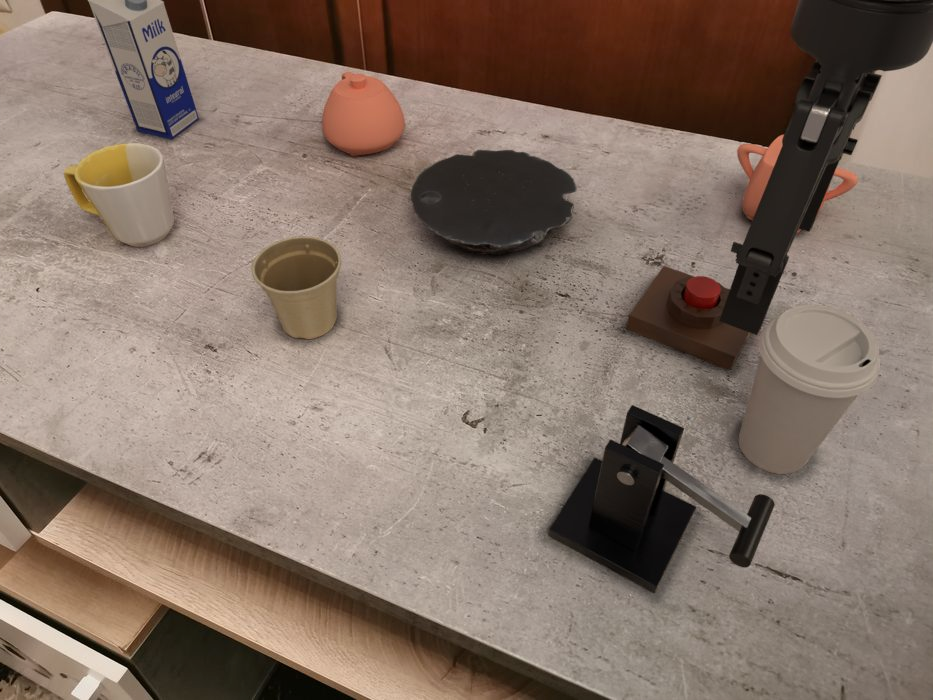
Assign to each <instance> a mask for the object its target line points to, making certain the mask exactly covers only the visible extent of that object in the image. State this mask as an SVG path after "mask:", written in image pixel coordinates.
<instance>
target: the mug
mask: <svg viewBox="0 0 933 700" xmlns="http://www.w3.org/2000/svg"><path fill="white" fill-rule="evenodd" d="M63 176H64V179H65V182H66V185H67V188H68V190H69V191H70V194H71V195H72V197H73V199H74V201H75V203H76V204H77V205H78V206H79V208H80V209H81V210H83V212H86V213H89V214H92V215H94V216H98V217H100V219H101V220H102V222H103V223H104V225H105V226H106V228H107V229H108V231H109V232H110V234H111V235H112V236H113V238H114V239H115V240H117V241H118V242H121V243H123V244H126V245H128V246H131V247H135V248H136V247H137V248H143V247H149V246H153V245H155V244H158V243H160V242H161V241H163V240H164V239H165V238H166V237H167V236H168V234H169V233H170V231H171V230H172V228H173V226H174V222H175V215H174V210H173V205H172V200H171V194H170V188H169V187H170V186H169V183H168V176H167V170H166V165H165V159H164V156H163V154H162V152H161V151H160V150H159V149H157V148H156V147H155V146H152V145H149V144H145V143H139V142H129V143H128V142H127V143H119V144H114V145H109V146H106V147H103V148H102V147H101V148H100V149H97V150H95V151H93V152H91V153H89V154H88V155H86V156H85V157H83V158H82V159H81V160H80V161H79V162H78V164H72V165H69V166H67V167H66V168H65V169H64V171H63Z"/></svg>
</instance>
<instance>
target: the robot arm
mask: <svg viewBox="0 0 933 700" xmlns="http://www.w3.org/2000/svg"><path fill="white" fill-rule="evenodd" d="M790 35H791V38H792V41H793V42H794V44H795V45H796V46H797V48H798V49H800V51H802V52H803V53H805V54H807V55H810V56H811V57H812V58H813V59H815V61H814V63H813V64H812V66H811V69H810V72H809V75H808V76H804V77H803V78H802V81H801V84H800V86H799V88H798V90H797V92H796V95H795V104H794V107H793V109H792V110H793V111H792V116H791V117H790V120H789V123H788V125H787V127H786V128H785V131H784V134H783V135H784V136H783V139H782V148H781V151H780V153H779V156H778V158H777V161H776V163H775V166H774V168H773V170H772V173H771V175H770V178H769V180H768V183H767V185H766V188H765V190H764V193H763V195H762V198H761V200H760V203H759V205H758V208H757V210H756V213H755V215H754V218H753V220H751V222H750V225H749V228H748V230H747V233H746V235H745V237H744V239H743V242H742V243H739V242H736V241H733V243H732V245H731V247H730V252H731V253H733V254H736V255H735V264H737V268H736V271H735V273H734V276H733V279H732V283H731V286H730V288H729V289H730V291H729V294H728V297H727V300H726V303H725V306H724V309H723V312H722V314H721V317H720V320H719V321H721V322H723V323H726V324H728V325H731V326H734V327H736V328H739V329H742V330H744V331H747V332H749V333H750V334H752V335H755V336H758V335H759V333H760V331H761V328H762V326H763V324H764V321H765V318H766V316H767V314H768V311H769V309H770V306H771V304H772V301H773V298H774V296H775V294H776V291H777V289H778V286H779V284H780V281H781V279H782V277H783V274H784V272H785V269H786V266H787V264H788V262H789V259H790V256H789V255H788V254H789V252H790V249H791V247H792V245H793V242H794V240H795V238H796V236H797V234H798V233H797V231H798V229H802V230H801V231H805V232H808V233H810V232H811V230H812V228H813V225H814V223H815V220H816V218H817V216H818V214H819V213H818V211H819V209H820V206H821V204H822V201H823V199H824V197H825V194H826V192H827V189H828V187H829V185H830V186H831V183H832V180H833V177H834V173H835V170H836V168H838V165H839V163H840V161H841V158H842V154H845V155H847V156H852V155H853V153H854V150H855V149H856V146H857V144H858V141H859V139H857V138H853V137H850V136H851V133H852V131H853V130H855V127H856V125H857V124H858V123H859V122H861V121H862V120H863V117H864V115H865V113H866V111H867V108H868V106H869V104H870V102H871V101H872V100H873V98H874V95H875V93H876V91H877V89H878V86H879V85H880V82H881V80H882V77H883V75H882V74H880V73H879V74H878V73H875V71H876V72H877V71H882V72H890V71H891V72H892V71H899V70H904V69H905V68H910V67H912V66H914V65H915V64H917V63H919V62H921V61H922V60H923V59H924V58H925V57H926V56H927V54H928V53H929V51H930V49H931V47H932V45H933V0H798V2H797V5H796V9H795V12H794V15H793V18H792V21H791V25H790ZM830 182H831V183H830ZM829 188H830V187H829ZM819 212H820V211H819ZM817 213H818V214H817Z"/></svg>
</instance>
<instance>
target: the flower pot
mask: <svg viewBox="0 0 933 700" xmlns="http://www.w3.org/2000/svg"><path fill="white" fill-rule="evenodd" d="M341 267H342V255H341V252H340V250H339V249H338V247H337V246H335V245H334V244H333V243H332V242H330V241H328V240H326V239H323V238H320V237H317V236H310V235H300V236H290V237H286V238H282V239H280V240H277V241H274V242H272V243H271V244H269V245H266V247H264V248H263V249H262V250H260V251H259V252H258V254H257V255H256V256H255V257H254V259H253V261H252V264H251V273H252V274H251V275H252V277H253V280H254V281H255V283H256V284H257V285H258V286H259V287H261V289H262V290H263V292H264V293H266V295H267V297H268V299H269V301H270V303H271V305H272V308H273V310H274V312H275V314H276V316H277V319H278V320H279V322H280V326H281V327H282V329H283V331H284V332H285V333H286V334H287V335H289V336H290V337H292V338H295V339H298V338H302V339H305V340H306V339H307V340H312V339H316V338H320V337H322V336H324V335H326V334H327V333H329V332H330V331H331V330H332V329H333V328H334V326H335V323H336V322H337V317H338V315H337V279H338V276H339V272H340V270H341Z"/></svg>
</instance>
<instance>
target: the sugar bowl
mask: <svg viewBox="0 0 933 700" xmlns="http://www.w3.org/2000/svg"><path fill="white" fill-rule="evenodd" d="M321 126H322V133H323V136H324V138H325V139H326V140H327V141H328V143H330V144H331V145H333V147H335V148H336V149H338V150H339V151H342V152H343V153H344V152H345V153H347V154H348V155H350V156H352V157H357V156H361V155H370V154H371V155H372V154H375V153H379V152H382V151H385V150H387V149H391V148H392V147H393V146H394V145H395V144H396V143H397V141H398V140H399V139H400V138H401V136H402V135H403V134H404V131H405V128H406V121H405V116H404V113H403V109H402V107H401V105H400V103H399V101H398V99H397V98H396V96H395V95H394V94H393V92H392V91H391V90H390V89H389V87H388V86H387V85H386V84H385V83H384V82H383V81H382V80H381V79H379V78H377V77H375V76H370V75H366V74H364V73H353V72H352V71H345V72H344V73H342V74H341V80H339V81H338V82H336V83H335V85H334V86H333V88H332V90H331V91H330V93H329V96H328V97H327V99H326V102H325V105H324V108H323V111H322V119H321Z"/></svg>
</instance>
